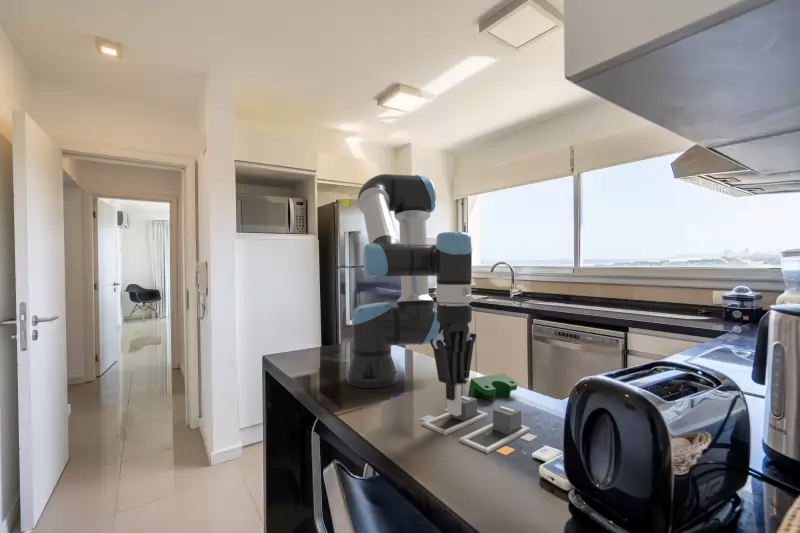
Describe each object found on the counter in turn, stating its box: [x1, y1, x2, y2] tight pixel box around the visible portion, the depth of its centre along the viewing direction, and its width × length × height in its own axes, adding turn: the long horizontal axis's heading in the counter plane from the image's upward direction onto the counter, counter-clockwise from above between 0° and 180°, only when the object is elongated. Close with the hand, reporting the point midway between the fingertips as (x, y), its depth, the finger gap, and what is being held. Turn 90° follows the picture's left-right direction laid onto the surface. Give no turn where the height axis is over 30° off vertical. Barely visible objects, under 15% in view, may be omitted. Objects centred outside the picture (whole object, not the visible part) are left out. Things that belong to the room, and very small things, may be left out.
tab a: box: [450, 394, 478, 422], centre depth 83 cm, size 4×4×4 cm
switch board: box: [419, 407, 539, 457], centre depth 78 cm, size 24×18×2 cm
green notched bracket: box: [467, 372, 519, 402], centre depth 97 cm, size 12×6×9 cm, turn 111°
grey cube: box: [492, 404, 522, 436], centre depth 76 cm, size 4×4×4 cm
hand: (454, 413), depth 81 cm, fingers closed
